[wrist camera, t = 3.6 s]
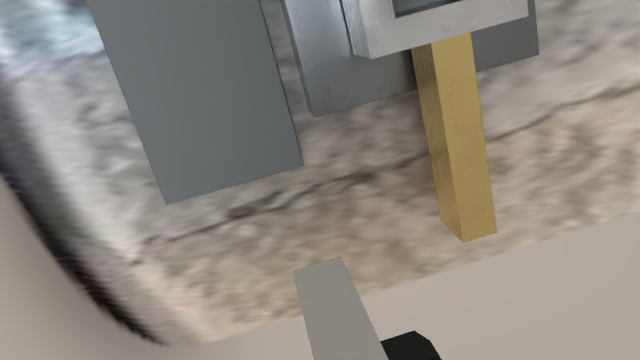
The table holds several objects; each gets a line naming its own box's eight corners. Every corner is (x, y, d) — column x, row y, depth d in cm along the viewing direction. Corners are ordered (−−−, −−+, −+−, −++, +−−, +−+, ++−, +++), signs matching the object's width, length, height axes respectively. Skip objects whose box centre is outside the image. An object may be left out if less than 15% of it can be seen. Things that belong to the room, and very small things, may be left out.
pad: (87, -8, 21) (83, -9, 20) (245, -48, 21) (245, -50, 21) (168, 200, 24) (166, 204, 23) (302, 162, 25) (303, 165, 24)
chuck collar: (318, -109, 19) (332, -132, 16) (471, -147, 19) (511, -176, 16) (391, 230, 24) (411, 258, 21) (511, 194, 24) (546, 217, 22)
